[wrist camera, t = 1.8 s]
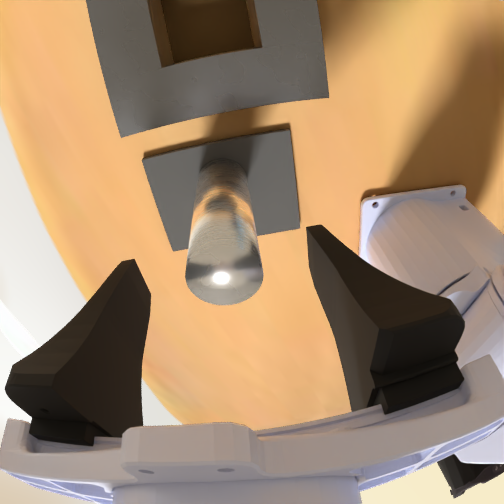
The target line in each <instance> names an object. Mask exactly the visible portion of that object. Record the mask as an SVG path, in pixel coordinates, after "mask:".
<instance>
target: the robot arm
mask: <svg viewBox="0 0 504 504" xmlns="http://www.w3.org/2000/svg"><path fill="white" fill-rule="evenodd" d="M452 191H453V192H452ZM451 192H452V193H451ZM465 196H466V187H464V186H463V185H454V186H446V187H438V188H431V189H423V190H416V191H408V192H401V193H394V194H387V195H380V196H374V197H367V198H365V199H363V200H362V202H361V215H360V241H359V256H358V255H357V254H355V253H354V252H353V251H352V250H350V249H349V248H348V247H347V246H345V245H344V244H343V243H342V242H341V241H339V240H338V239H337V238H336V237H335V236H334V235H333V234H331V233H330V232H329V231H328V230H327V229H326V228H325V227H324V226H322V225H315V226H309V227H306V230H307V244H308V259H309V268H310V272H311V276H312V279H313V283H314V286H315V289H316V291H317V294H318V296H319V299H320V301H321V304H322V306H323V309H324V311H325V314H326V316H327V318H328V321H329V323H330V326H331V328H332V331H333V334H334V337H335V341H336V344H337V348H338V352H339V356H340V360H341V364H342V368H343V372H344V376H345V381H346V385H347V390H348V395H349V400H350V405H351V410H352V412H350V413H346V414H342V415H338V416H333V417H329V418H324V419H320V420H315V421H310V422H305V423H300V424H295V425H289V426H283V427H277V428H271V429H264V430H257V431H253V430H251V429H250V428H248V427H247V426H246V425H242V424H237V423H232V422H213V423H201V424H187V425H167V426H143V416H142V397H141V377H142V360H143V353H144V347H145V341H146V335H147V330H148V324H149V318H150V306H151V293H150V291H149V289H148V287H147V285H146V283H145V281H144V278H143V276H142V274H141V272H140V270H139V268H138V266H137V264H136V261H135V259H131V260H126V261H122V262H121V263H120V264H119V265H118V266H117V267H116V268H115V269H114V271H113V272H112V273H111V274H110V276H109V277H108V278H107V279H106V280H105V282H104V283H103V284H102V285H101V287H100V288H99V289H98V290H97V292H96V293H95V294H94V295H93V296H92V298H91V299H90V300H89V301H88V302H87V303H86V305H85V306H84V307H83V308H82V309H81V311H80V312H79V313H78V314H77V315H76V316H75V317H74V318H73V319H72V320H71V321H70V322H69V323H68V324H67V325H66V326H65V327H64V328H62V329H61V330H60V331H59V332H58V333H57V334H56V335H55V336H53V337H52V338H51V339H50V340H49V341H47V342H46V343H45V344H44V345H42V346H41V347H40V348H38V349H37V350H35V351H34V352H33V353H31V354H30V355H28V356H26V357H25V358H23V359H22V360H20V361H19V362H17V363H15V364H14V365H13V366H12V369H11V372H10V375H9V377H8V380H7V383H6V386H5V391H6V394H7V395H8V397H9V398H10V399H11V400H12V401H13V402H14V403H15V404H16V405H17V406H19V407H20V408H21V409H22V410H24V411H25V412H26V413H27V414H28V415H30V416H31V417H32V421H31V424H30V423H29V422H26V421H22V420H16V419H8V420H7V424H6V428H5V432H4V435H3V439H2V444H1V448H0V470H2V471H4V472H6V473H8V474H9V475H11V476H13V477H15V478H17V479H19V480H21V481H23V482H25V483H27V484H29V485H31V486H33V487H35V488H39V489H42V490H46V491H50V492H53V493H57V494H61V495H65V496H68V497H72V498H76V499H81V500H85V501H89V502H94V503H98V504H362V501H361V496H360V491H364V490H367V489H370V488H373V487H376V486H379V485H381V484H384V483H387V482H390V481H392V480H395V479H397V478H400V477H403V476H405V475H408V474H410V473H412V472H415V471H417V470H420V469H422V468H424V467H427V466H429V465H431V464H433V463H435V462H438V461H440V460H442V459H444V458H446V457H448V456H450V455H452V454H455V455H456V456H457V457H458V459H459V460H460V461H461V462H464V463H475V464H504V235H503V234H502V233H501V232H500V231H499V230H498V229H497V228H496V227H495V226H494V225H493V224H492V223H491V222H490V221H489V220H488V219H487V218H486V217H485V216H484V215H483V214H482V213H481V212H480V211H479V210H478V209H477V208H476V207H474V206H473V205H472V204H471V203H470V202H469V201H468V200H467V199H466V198H465ZM374 202H376V204H375V205H373V206H372V204H373V203H374Z"/></svg>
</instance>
